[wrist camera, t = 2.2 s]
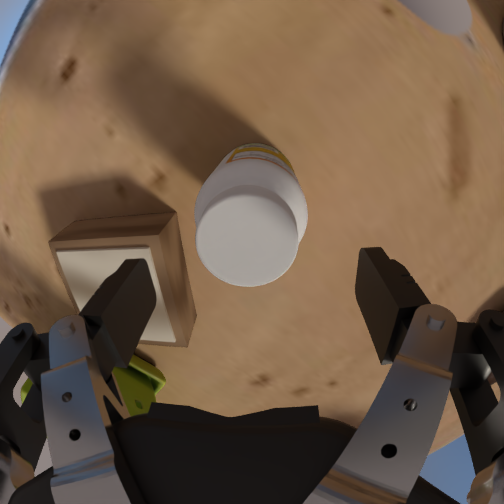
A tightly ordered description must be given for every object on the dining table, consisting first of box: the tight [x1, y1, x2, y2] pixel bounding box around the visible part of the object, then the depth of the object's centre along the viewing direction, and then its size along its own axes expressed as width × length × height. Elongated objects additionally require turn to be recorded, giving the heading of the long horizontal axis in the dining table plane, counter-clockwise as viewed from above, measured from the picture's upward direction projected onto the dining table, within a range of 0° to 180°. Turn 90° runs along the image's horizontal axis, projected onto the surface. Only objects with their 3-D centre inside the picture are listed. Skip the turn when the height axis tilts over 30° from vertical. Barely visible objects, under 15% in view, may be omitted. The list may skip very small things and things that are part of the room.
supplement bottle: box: [194, 143, 308, 287], centre depth 15 cm, size 5×5×10 cm
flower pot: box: [21, 354, 166, 416], centre depth 25 cm, size 14×14×13 cm
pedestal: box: [48, 212, 197, 347], centre depth 22 cm, size 10×10×4 cm
